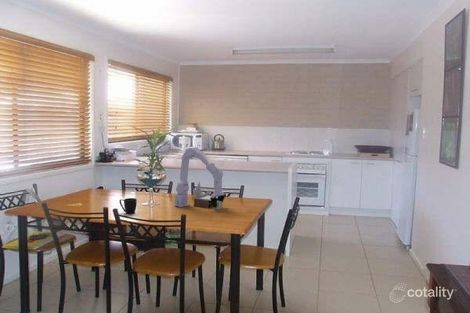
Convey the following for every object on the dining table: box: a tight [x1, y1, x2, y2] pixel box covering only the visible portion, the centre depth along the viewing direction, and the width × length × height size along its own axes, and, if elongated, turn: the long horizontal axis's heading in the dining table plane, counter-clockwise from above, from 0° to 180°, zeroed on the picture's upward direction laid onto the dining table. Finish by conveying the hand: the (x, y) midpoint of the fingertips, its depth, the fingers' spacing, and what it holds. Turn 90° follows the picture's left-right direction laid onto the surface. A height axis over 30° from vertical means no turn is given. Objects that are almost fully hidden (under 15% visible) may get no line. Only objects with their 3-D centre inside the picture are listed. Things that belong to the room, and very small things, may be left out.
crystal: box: [192, 181, 210, 199], centre depth 319 cm, size 10×13×15 cm
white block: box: [212, 201, 223, 210], centre depth 290 cm, size 4×4×5 cm
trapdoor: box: [196, 194, 218, 201], centre depth 300 cm, size 12×12×2 cm
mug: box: [118, 197, 138, 215], centre depth 272 cm, size 8×12×10 cm
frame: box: [193, 198, 219, 209], centre depth 300 cm, size 15×12×6 cm
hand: (217, 206), depth 290 cm, fingers open, 7 cm apart
